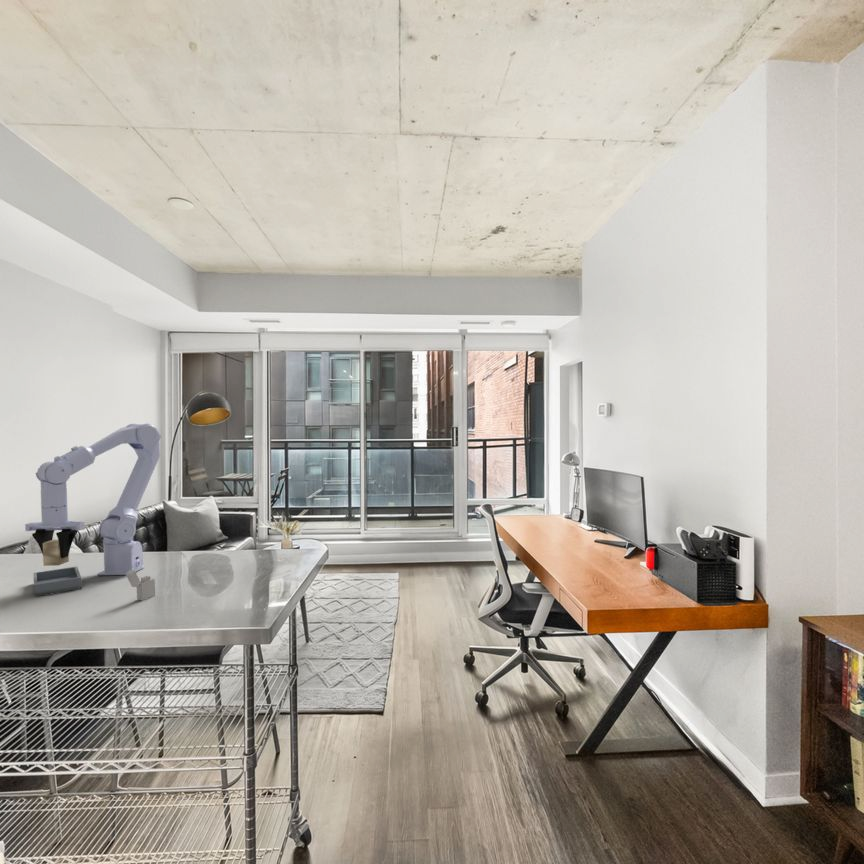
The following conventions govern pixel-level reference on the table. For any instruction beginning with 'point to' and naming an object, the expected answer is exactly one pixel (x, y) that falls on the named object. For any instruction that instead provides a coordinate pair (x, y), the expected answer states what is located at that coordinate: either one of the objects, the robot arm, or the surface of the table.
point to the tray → (56, 581)
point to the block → (53, 554)
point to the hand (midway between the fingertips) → (56, 557)
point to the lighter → (142, 585)
